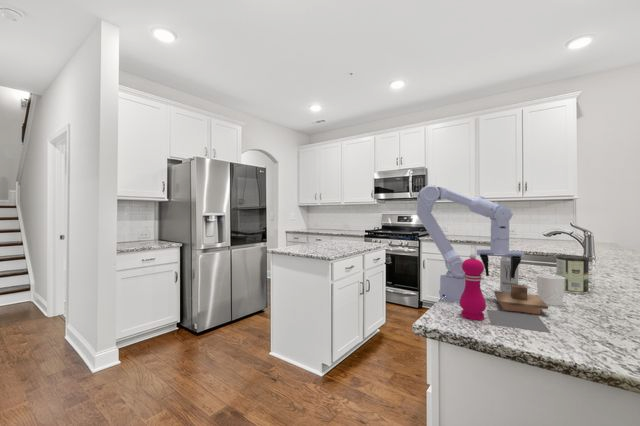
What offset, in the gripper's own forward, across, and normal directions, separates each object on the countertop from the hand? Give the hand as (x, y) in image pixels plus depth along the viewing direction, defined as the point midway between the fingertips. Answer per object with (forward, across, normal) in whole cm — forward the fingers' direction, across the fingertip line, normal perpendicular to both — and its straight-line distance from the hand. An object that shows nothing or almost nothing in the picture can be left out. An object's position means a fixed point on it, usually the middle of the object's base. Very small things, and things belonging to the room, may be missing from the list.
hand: (499, 276), depth 107 cm
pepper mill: (+10, -10, -21) cm, 25 cm away
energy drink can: (+10, +5, +15) cm, 18 cm away
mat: (+9, +2, -19) cm, 21 cm away
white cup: (+10, +16, +5) cm, 19 cm away
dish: (+9, +5, -5) cm, 12 cm away
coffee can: (+10, +29, +30) cm, 43 cm away
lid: (+6, +5, -6) cm, 10 cm away
